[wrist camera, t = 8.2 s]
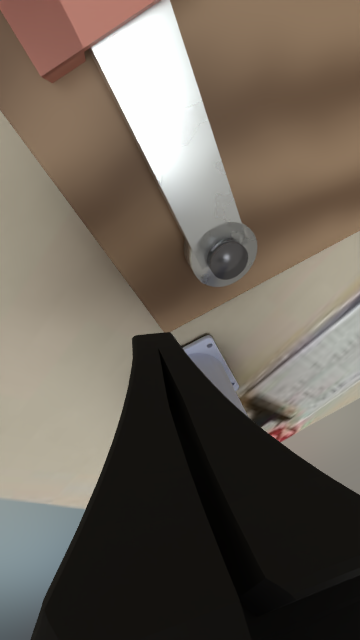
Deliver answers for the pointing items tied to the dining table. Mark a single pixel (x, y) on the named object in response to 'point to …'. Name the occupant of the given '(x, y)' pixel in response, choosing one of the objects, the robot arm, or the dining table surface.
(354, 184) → the board
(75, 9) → the keeper
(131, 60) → the link
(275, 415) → the dining table surface
